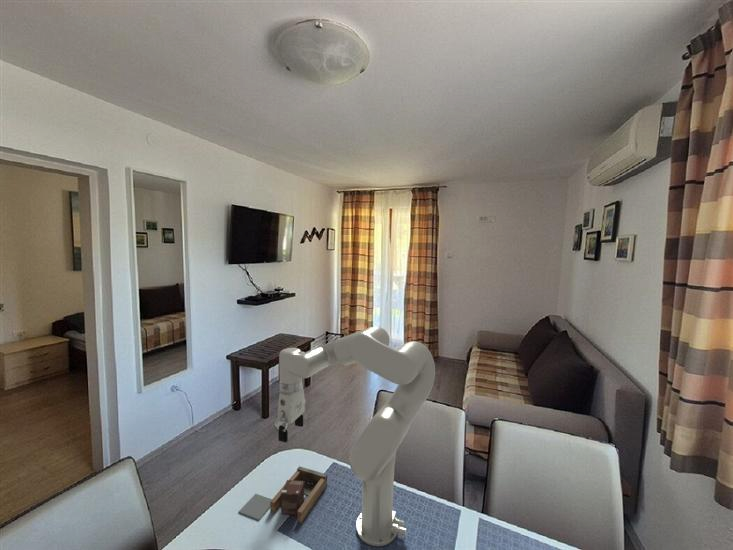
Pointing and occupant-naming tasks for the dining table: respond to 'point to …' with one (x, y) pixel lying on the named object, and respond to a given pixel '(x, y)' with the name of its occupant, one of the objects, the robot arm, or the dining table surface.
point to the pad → (256, 507)
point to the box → (292, 497)
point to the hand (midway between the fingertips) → (291, 433)
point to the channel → (312, 488)
